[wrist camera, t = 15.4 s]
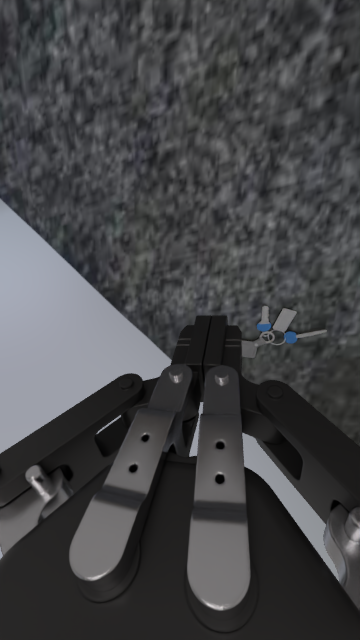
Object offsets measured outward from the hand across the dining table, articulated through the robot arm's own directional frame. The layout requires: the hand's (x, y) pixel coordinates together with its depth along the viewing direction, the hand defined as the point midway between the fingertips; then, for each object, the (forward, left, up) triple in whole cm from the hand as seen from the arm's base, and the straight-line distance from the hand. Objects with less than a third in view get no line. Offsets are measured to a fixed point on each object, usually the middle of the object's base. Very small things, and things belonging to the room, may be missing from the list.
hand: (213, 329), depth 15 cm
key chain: (+18, +4, -26) cm, 32 cm away
